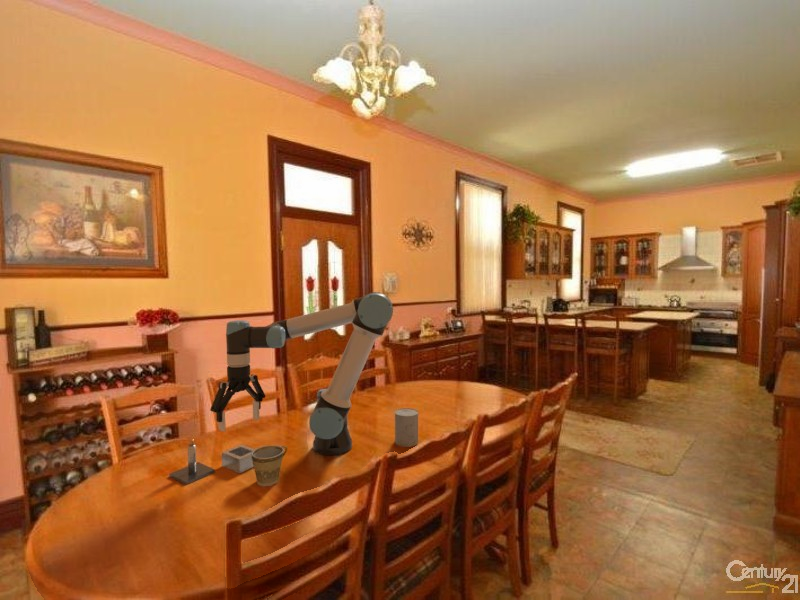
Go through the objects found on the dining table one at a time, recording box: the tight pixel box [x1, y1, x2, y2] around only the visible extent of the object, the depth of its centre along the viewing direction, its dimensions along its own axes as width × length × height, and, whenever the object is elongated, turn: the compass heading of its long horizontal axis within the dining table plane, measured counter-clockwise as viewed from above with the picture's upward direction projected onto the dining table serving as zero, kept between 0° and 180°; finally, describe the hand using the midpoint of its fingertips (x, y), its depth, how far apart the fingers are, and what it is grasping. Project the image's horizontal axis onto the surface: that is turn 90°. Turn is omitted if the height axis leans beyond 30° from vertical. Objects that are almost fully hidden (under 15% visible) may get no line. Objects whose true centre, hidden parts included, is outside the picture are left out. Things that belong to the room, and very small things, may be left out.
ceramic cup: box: [251, 444, 288, 487], centre depth 132 cm, size 13×10×10 cm
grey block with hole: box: [221, 443, 256, 474], centre depth 141 cm, size 10×8×5 cm
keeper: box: [168, 438, 216, 486], centre depth 135 cm, size 10×10×12 cm
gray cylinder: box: [394, 407, 419, 448], centre depth 162 cm, size 10×10×12 cm
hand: (239, 424), depth 141 cm, fingers open, 13 cm apart
